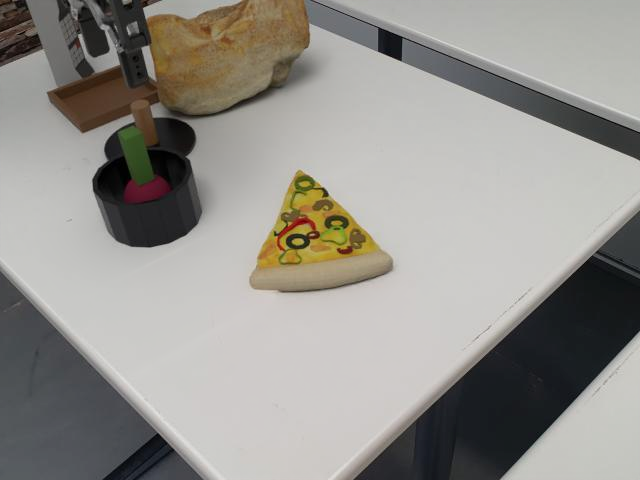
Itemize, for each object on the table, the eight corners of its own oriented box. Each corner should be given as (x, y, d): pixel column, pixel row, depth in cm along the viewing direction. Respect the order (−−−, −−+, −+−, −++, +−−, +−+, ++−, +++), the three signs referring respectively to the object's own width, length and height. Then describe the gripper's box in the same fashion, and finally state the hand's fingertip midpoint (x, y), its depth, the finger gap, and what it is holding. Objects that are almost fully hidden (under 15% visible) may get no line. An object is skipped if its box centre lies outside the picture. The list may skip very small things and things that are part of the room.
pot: (135, 264, 78) (119, 219, 73) (93, 217, 84) (75, 172, 79) (219, 222, 82) (210, 176, 77) (173, 180, 88) (161, 135, 83)
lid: (132, 187, 88) (117, 142, 83) (91, 147, 95) (75, 103, 90) (213, 150, 92) (204, 105, 88) (169, 114, 99) (158, 71, 94)
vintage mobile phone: (88, 90, 105) (26, -94, 87) (58, 89, 106) (-10, -94, 88) (97, 78, 108) (40, -104, 89) (68, 76, 108) (5, -103, 90)
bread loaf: (282, 50, 112) (267, -51, 102) (325, 86, 101) (312, -23, 91) (144, 90, 107) (113, -12, 97) (173, 133, 95) (141, 23, 85)
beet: (144, 238, 80) (117, 153, 72) (123, 215, 83) (94, 131, 75) (186, 217, 82) (164, 132, 74) (163, 196, 85) (140, 112, 77)
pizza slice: (252, 301, 73) (248, 281, 71) (239, 185, 87) (236, 165, 84) (396, 281, 74) (397, 260, 72) (361, 169, 88) (360, 149, 85)
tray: (83, 137, 96) (79, 123, 95) (51, 105, 103) (46, 92, 101) (169, 102, 102) (165, 88, 100) (132, 73, 108) (129, 60, 106)
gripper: (-9, -123, 60) (54, 57, 72) (58, -84, 52) (117, 110, 64) (72, -142, 63) (120, 34, 75) (146, -108, 55) (187, 82, 67)
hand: (118, 69), depth 69 cm, fingers open, 8 cm apart
